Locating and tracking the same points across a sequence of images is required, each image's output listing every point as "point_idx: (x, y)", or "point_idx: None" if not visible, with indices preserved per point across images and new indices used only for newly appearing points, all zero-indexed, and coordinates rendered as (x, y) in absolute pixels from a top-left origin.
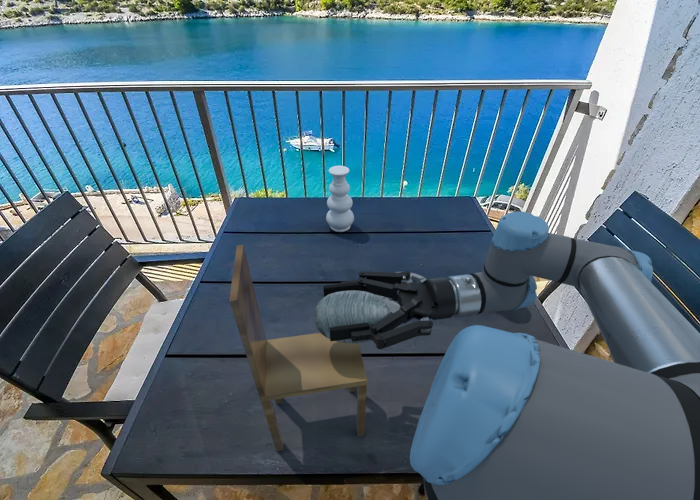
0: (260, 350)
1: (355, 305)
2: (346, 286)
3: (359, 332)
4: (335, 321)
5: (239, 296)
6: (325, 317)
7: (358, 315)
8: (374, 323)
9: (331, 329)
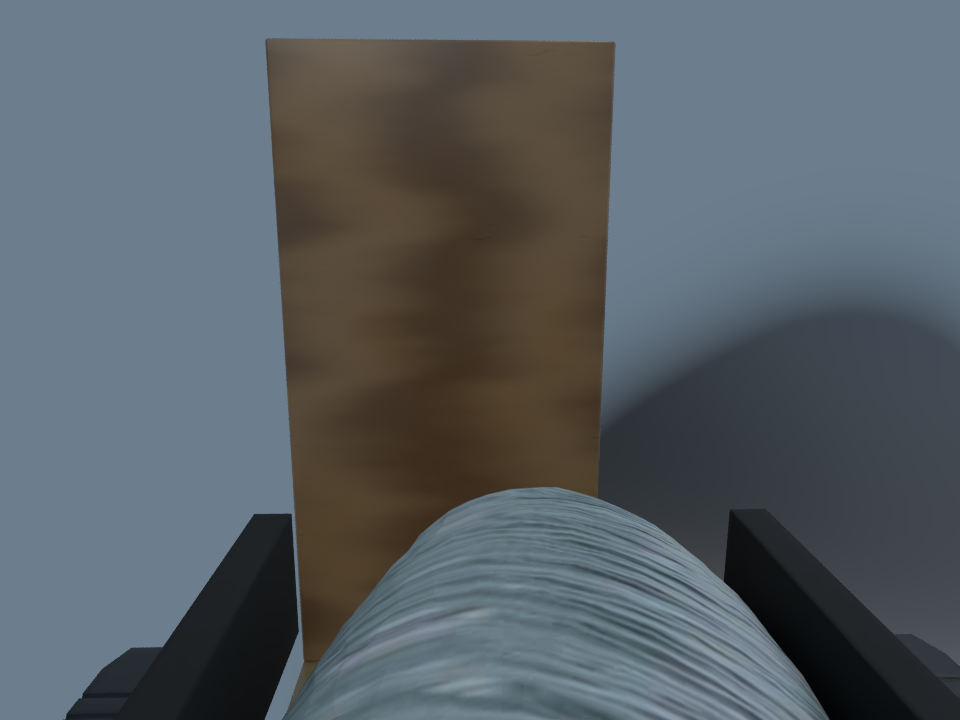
0: (423, 524)
1: (457, 625)
2: (841, 642)
3: (117, 711)
4: (376, 585)
5: (315, 71)
6: (426, 532)
7: (336, 692)
8: None
9: (263, 519)
